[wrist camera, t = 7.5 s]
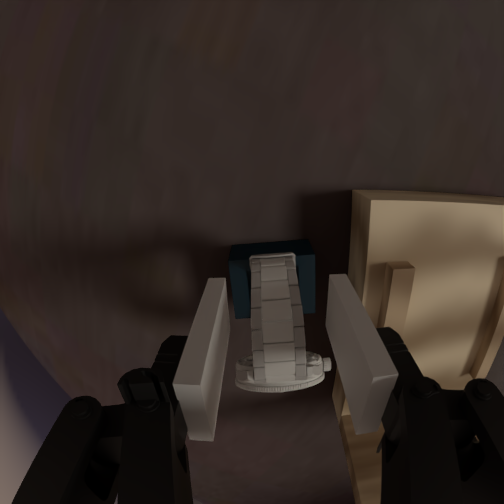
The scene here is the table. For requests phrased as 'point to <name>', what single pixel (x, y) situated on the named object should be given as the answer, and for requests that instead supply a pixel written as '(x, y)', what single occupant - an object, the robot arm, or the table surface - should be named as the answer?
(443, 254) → the display stand
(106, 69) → the table surface
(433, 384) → the robot arm
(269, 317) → the watch
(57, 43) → the table surface
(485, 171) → the table surface
